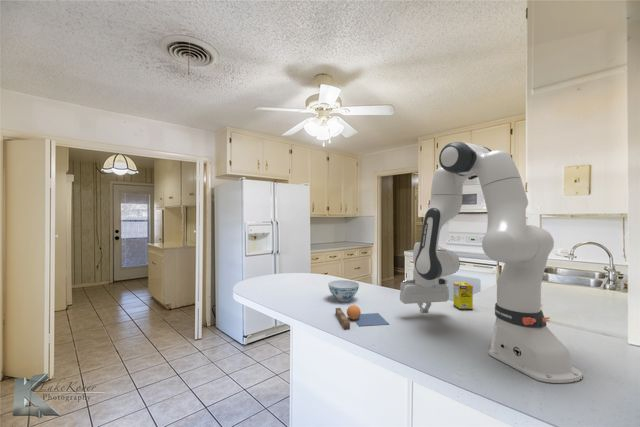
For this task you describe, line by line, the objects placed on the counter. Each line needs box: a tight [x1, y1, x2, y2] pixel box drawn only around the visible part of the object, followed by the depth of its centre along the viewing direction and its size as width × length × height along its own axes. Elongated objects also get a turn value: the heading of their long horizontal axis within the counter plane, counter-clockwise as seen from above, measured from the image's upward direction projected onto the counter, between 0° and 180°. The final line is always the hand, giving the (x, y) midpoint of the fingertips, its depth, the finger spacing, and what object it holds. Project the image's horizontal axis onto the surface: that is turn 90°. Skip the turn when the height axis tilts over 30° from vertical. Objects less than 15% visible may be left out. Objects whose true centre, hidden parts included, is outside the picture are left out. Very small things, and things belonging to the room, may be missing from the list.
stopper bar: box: [335, 307, 351, 330], centre depth 113 cm, size 16×2×2 cm, turn 9°
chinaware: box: [328, 279, 360, 303], centre depth 141 cm, size 15×15×8 cm
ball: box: [346, 304, 362, 321], centre depth 115 cm, size 6×6×6 cm
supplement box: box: [453, 281, 474, 311], centre depth 129 cm, size 6×6×11 cm
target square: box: [354, 312, 390, 327], centre depth 115 cm, size 12×12×1 cm
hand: (424, 312), depth 118 cm, fingers closed
